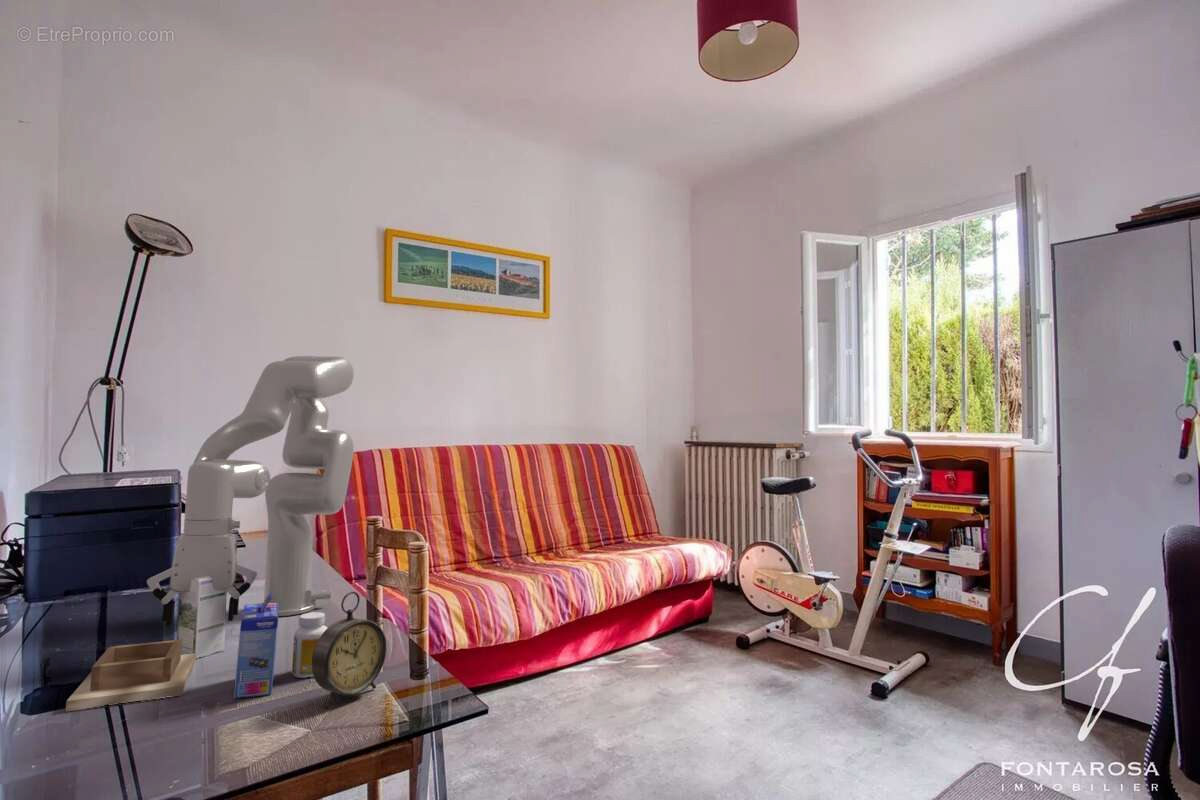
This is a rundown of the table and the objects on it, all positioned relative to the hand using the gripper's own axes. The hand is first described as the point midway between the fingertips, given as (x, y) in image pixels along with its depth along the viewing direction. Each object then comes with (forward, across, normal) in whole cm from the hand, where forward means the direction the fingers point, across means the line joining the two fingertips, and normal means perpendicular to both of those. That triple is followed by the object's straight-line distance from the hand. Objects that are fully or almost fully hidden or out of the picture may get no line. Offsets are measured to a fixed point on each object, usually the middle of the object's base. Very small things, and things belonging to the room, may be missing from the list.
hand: (200, 621), depth 114 cm
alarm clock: (+6, -23, +31) cm, 39 cm away
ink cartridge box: (+6, -10, +21) cm, 24 cm away
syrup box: (+6, 0, 0) cm, 6 cm away
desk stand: (+6, +7, +13) cm, 15 cm away
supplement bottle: (+6, -18, +18) cm, 26 cm away
